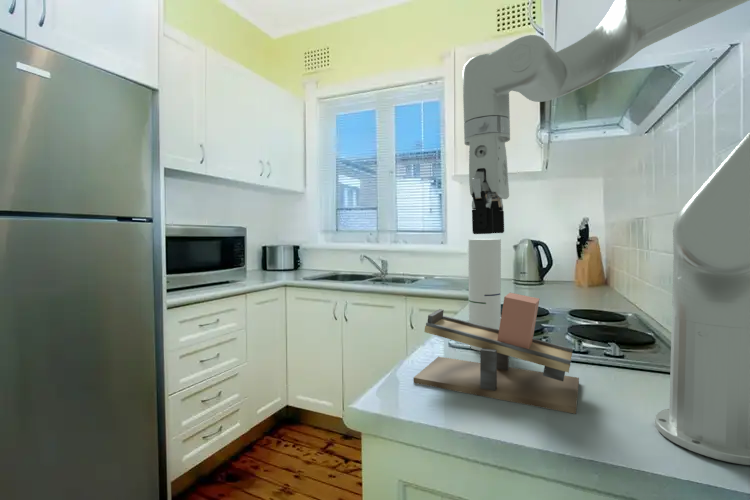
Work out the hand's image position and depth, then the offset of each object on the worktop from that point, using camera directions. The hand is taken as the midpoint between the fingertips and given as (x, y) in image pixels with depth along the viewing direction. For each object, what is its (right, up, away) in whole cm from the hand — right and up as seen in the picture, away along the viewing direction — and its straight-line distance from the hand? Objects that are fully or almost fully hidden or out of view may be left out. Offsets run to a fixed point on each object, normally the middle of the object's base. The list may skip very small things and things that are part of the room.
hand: (489, 233), depth 68 cm
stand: (+2, -27, +2) cm, 27 cm away
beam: (+1, -22, +2) cm, 22 cm away
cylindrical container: (+6, -26, +24) cm, 36 cm away
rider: (+4, -19, 0) cm, 19 cm away
